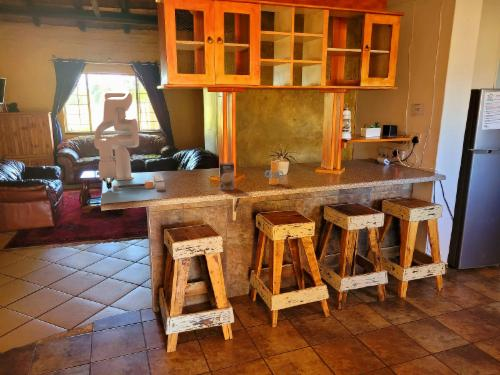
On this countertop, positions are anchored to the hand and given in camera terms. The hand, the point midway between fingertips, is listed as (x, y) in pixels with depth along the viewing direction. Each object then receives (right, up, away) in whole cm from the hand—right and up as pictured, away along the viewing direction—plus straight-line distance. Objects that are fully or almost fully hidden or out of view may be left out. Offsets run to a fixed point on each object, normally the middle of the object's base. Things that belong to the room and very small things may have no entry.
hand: (109, 188), depth 226 cm
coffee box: (+72, 0, +3) cm, 72 cm away
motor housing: (+28, +1, +10) cm, 30 cm away
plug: (+13, 0, +5) cm, 14 cm away
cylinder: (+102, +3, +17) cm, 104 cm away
